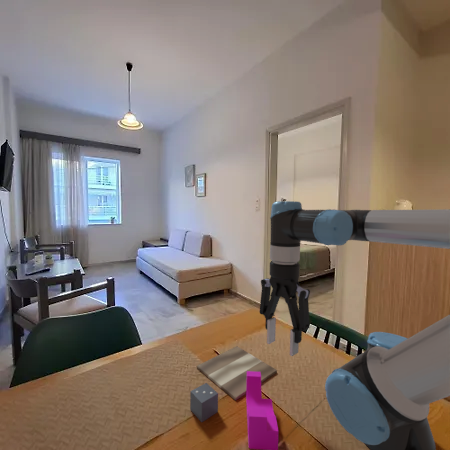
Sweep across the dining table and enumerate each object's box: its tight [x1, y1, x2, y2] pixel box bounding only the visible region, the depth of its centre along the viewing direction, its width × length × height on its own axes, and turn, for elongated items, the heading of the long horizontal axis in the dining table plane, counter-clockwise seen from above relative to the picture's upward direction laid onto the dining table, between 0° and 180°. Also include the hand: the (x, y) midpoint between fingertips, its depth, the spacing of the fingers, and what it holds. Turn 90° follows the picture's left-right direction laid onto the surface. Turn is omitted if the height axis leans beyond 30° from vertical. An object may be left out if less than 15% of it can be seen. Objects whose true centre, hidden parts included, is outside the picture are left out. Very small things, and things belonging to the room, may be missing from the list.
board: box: [196, 345, 278, 401], centre depth 80 cm, size 18×18×1 cm
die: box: [189, 382, 219, 423], centre depth 64 cm, size 5×5×5 cm
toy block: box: [245, 371, 279, 450], centre depth 61 cm, size 15×6×8 cm, turn 177°
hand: (282, 347), depth 67 cm, fingers open, 7 cm apart
